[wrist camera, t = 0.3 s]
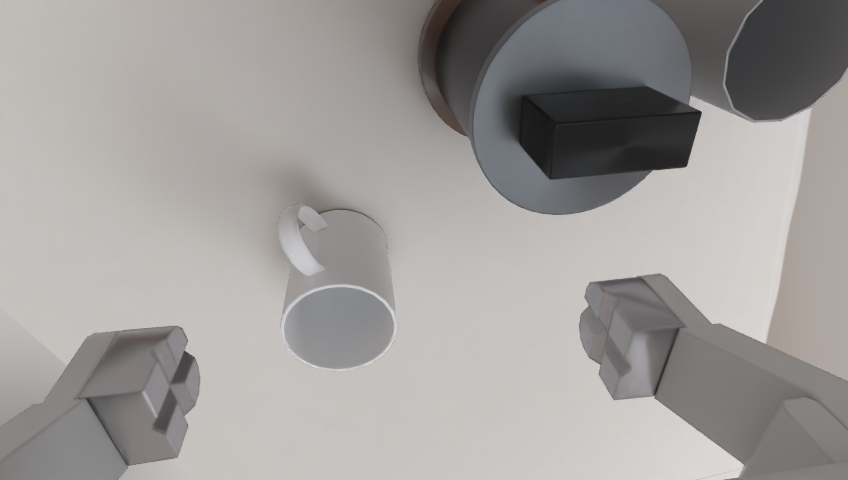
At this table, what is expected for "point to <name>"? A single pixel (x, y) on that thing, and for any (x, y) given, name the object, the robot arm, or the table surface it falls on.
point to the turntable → (427, 59)
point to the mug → (336, 289)
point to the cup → (763, 52)
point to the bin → (568, 96)
